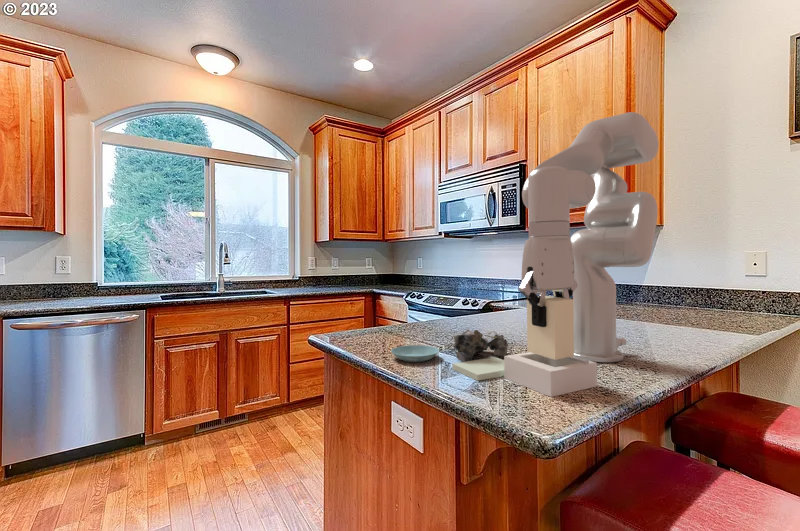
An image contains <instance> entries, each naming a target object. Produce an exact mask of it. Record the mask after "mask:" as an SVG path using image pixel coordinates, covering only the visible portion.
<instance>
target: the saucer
mask: <svg viewBox="0 0 800 531" xmlns="http://www.w3.org/2000/svg"><path fill="white" fill-rule="evenodd" d="M390 352H391V353H392V355H394V356H395V357H396V358H398V359H399V360H400V361H402V360H403V362H407V363H423V362H427V361H429V360H432V359H433V358H434V357H435V356H437V354H438V353H439V352H440V350H439V348H438V347H437V348H436V347H434V346H431V345H422V344H421V345H419V344H418V345H417V344H411V345H410V344H409V345H402V346H397V347H394V348H391V350H390Z"/></svg>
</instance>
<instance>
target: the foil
mask: <svg viewBox="0 0 800 531" xmlns="http://www.w3.org/2000/svg"><path fill="white" fill-rule="evenodd" d="M492 333H493V334H492ZM490 334H492V335H490ZM483 336H485V337H489V338H490V339H489V340H487V339H485V338H483ZM452 338H453V339H454V347H453V349H452V351H453V352H454V351H455V354H456V359H457V361H458V362H459V361H460V362H467V361H473V360H472V359H473V357H474V355H477V356H479V352H480V353H481V352H484V351H488V348H489V349H490V350H491V351H494V352H493V355H494V356H499V357H501V358H504V356H507V354H508V347H509V343H508V340H507V339H505V336H504V335H503V334H498V333H497V332H496V331H491V332H489V333H488V334H487V335H486V334H483V333H481V332H480V331H478V330H477V329H474V331H471V330H470V329H469V328H467V329H466V330H465V331H463V332H461V333H457V334H453V335H452ZM456 350H457V351H456Z"/></svg>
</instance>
